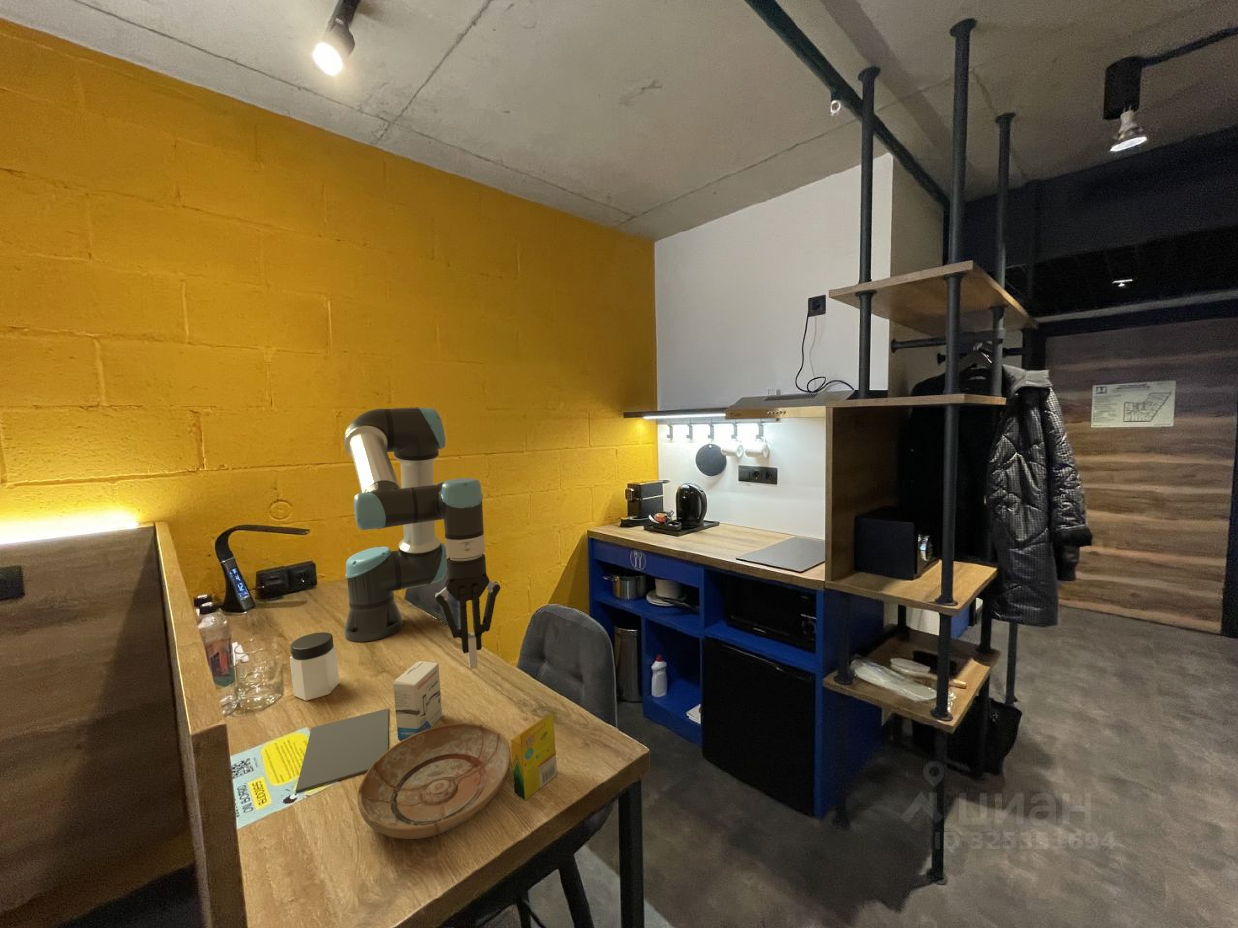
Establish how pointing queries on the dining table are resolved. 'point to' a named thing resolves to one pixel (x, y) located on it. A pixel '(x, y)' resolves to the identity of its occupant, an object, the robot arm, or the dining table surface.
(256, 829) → the dining table surface
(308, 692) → the jar
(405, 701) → the ink box
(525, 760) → the crayon box
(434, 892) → the dining table surface
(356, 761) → the mat
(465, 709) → the dining table surface
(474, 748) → the ceramic bowl
